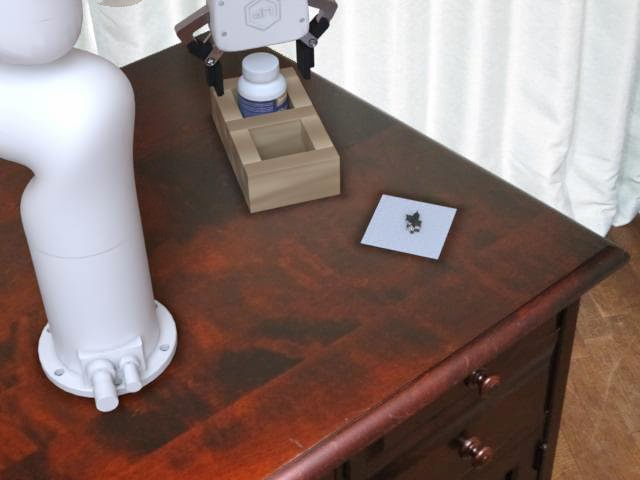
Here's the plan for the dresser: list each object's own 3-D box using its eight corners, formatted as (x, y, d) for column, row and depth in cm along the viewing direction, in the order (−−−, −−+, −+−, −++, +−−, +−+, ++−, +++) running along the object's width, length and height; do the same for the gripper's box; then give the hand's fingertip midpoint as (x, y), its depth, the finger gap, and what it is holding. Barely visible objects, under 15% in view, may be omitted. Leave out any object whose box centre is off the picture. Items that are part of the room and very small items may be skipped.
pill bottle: (288, 149, 127) (284, 75, 121) (239, 149, 128) (233, 76, 121) (289, 120, 132) (286, 47, 125) (242, 121, 132) (237, 48, 125)
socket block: (340, 194, 122) (339, 157, 118) (250, 213, 120) (247, 176, 116) (294, 102, 134) (292, 66, 131) (212, 118, 132) (208, 82, 129)
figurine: (398, 217, 119) (399, 203, 117) (425, 222, 118) (426, 208, 117) (392, 231, 117) (392, 217, 116) (419, 237, 116) (419, 223, 115)
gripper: (173, -32, 109) (190, 115, 120) (346, -60, 112) (347, 85, 124) (158, -67, 114) (176, 77, 126) (324, -93, 118) (327, 49, 129)
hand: (261, 81), depth 125 cm, fingers open, 9 cm apart
